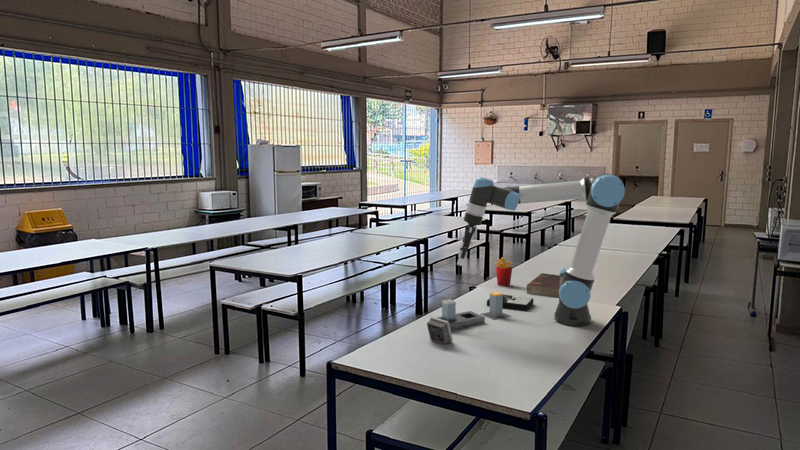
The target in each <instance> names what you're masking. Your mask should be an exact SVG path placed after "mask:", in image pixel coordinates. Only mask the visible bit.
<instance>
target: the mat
mask: <svg viewBox="0 0 800 450" xmlns="http://www.w3.org/2000/svg"><path fill="white" fill-rule="evenodd" d="M489 314H490V311H489V312H487V311H486V312H484V313H480V315H481V316H484V317H485V318H488V319H491V320H493V321H496V320H501V319H507V318H512V315H510V314H508V313H505V312H502V316H498V317H494V316H492V315H489Z"/></svg>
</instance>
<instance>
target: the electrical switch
mask: <svg viewBox="0 0 800 450" xmlns="http://www.w3.org/2000/svg"><path fill="white" fill-rule="evenodd" d="M426 326H427V330H428V333H429V334H428V335H429V340H431V341H433V342H436V343H439V344H441V345H442V344H443V345H447V344H448V343H450V344H451V343H453V341H454V339H453V335H452V334H453V333H452V331H451V329H450V325H449V322H448V321H445V320H442V319H438V318H436V317H435V316H431V317H430V318H429V321H427V322H426Z"/></svg>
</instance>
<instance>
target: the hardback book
mask: <svg viewBox="0 0 800 450" xmlns="http://www.w3.org/2000/svg"><path fill="white" fill-rule="evenodd" d="M559 286H560V275H559V274H551V273H544V272H543V273H540V274H539V275H538V276H536V277H535V278H534V279H532V280H531V281H530V282H529V283H527V284H526V294H529V295H530V294H531V295H536V296H546V297H554V298H559Z"/></svg>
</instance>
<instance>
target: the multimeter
mask: <svg viewBox="0 0 800 450" xmlns="http://www.w3.org/2000/svg"><path fill="white" fill-rule="evenodd" d="M486 306H487V307H490V298H489V299H487V300H486ZM533 306H534V297H526V296H518V295H510V294H503V307H502V309H509V310H514V311H515V310H516V311H523V312H528V310H529V309H531V308H532V307H533Z"/></svg>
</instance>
